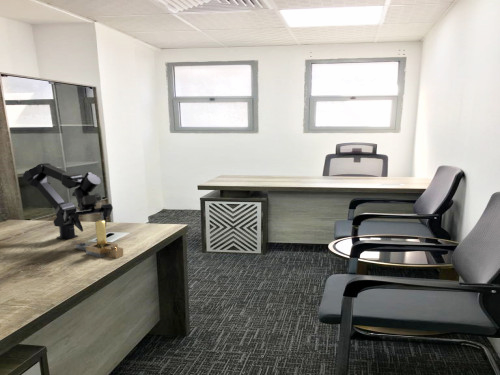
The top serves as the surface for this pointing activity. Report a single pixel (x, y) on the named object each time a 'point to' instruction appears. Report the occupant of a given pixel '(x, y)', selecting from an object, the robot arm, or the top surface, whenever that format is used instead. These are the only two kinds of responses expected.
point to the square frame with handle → (101, 250)
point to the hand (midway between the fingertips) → (94, 229)
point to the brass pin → (101, 233)
